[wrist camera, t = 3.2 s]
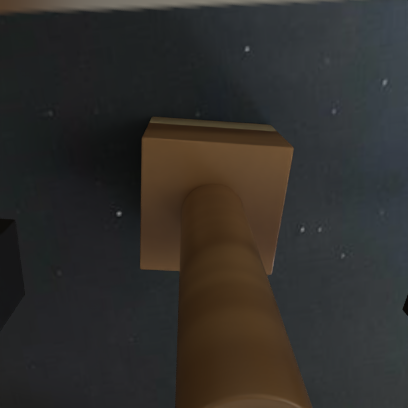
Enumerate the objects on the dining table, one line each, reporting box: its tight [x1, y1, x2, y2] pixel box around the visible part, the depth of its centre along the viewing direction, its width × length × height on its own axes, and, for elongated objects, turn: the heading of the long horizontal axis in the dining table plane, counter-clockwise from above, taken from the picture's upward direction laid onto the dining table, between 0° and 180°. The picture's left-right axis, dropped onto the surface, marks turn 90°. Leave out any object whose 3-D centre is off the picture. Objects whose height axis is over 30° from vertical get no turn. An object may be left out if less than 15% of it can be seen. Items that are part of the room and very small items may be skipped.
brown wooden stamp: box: [140, 117, 312, 408], centre depth 13 cm, size 6×6×14 cm
